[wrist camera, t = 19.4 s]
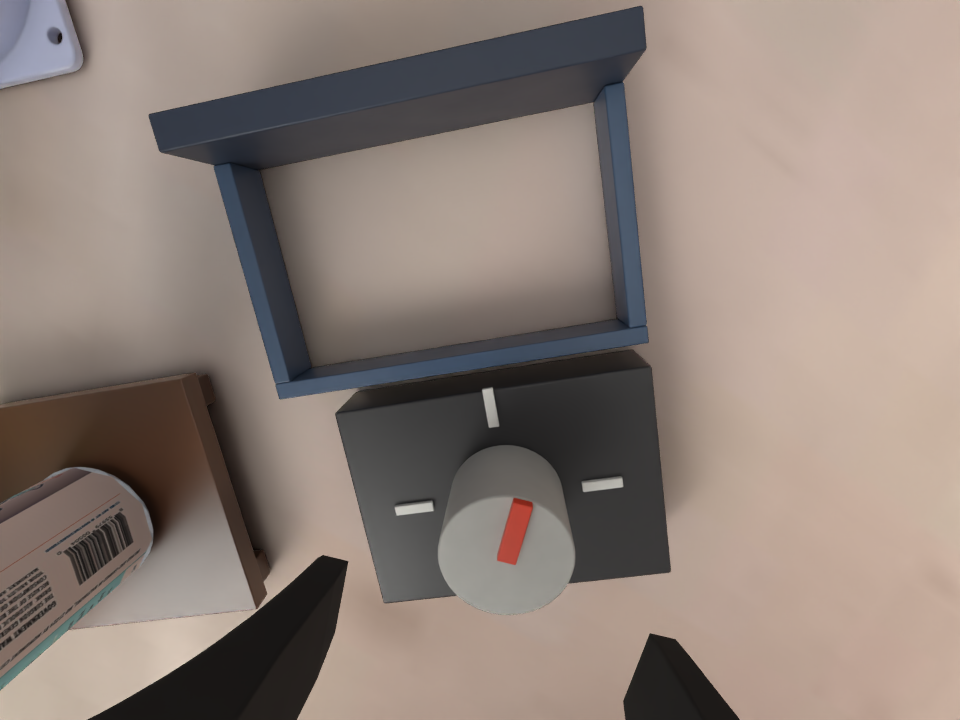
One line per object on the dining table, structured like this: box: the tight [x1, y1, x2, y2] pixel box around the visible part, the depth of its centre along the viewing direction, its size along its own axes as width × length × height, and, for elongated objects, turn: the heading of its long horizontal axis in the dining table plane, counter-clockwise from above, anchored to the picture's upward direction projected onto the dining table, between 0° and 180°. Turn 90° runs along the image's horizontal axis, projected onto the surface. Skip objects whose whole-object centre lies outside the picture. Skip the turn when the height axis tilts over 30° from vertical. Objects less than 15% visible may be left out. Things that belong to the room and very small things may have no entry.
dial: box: [438, 445, 575, 615], centre depth 16 cm, size 4×4×4 cm
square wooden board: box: [0, 373, 270, 630], centre depth 20 cm, size 10×10×2 cm
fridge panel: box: [335, 350, 671, 603], centre depth 19 cm, size 11×8×3 cm
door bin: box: [149, 6, 649, 399], centre depth 16 cm, size 9×13×4 cm
